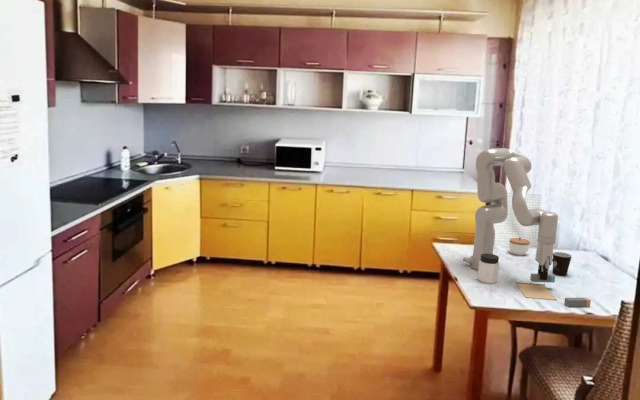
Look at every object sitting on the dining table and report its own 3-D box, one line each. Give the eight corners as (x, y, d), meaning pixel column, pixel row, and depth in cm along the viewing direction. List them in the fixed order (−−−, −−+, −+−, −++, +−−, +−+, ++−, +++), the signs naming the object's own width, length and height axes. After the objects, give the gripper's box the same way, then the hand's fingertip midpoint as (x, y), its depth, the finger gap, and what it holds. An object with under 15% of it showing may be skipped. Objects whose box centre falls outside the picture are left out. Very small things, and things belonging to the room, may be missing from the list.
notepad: (525, 297, 248) (526, 296, 248) (515, 283, 266) (515, 282, 266) (556, 300, 247) (556, 299, 247) (544, 285, 265) (544, 284, 265)
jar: (476, 281, 266) (479, 257, 263) (477, 276, 273) (480, 252, 271) (496, 284, 263) (499, 259, 261) (497, 279, 271) (499, 254, 268)
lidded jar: (504, 250, 320) (506, 234, 318) (522, 251, 321) (524, 235, 320) (513, 256, 310) (515, 239, 308) (531, 257, 311) (533, 240, 309)
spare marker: (568, 307, 239) (569, 300, 239) (564, 304, 242) (565, 297, 242) (589, 306, 241) (590, 300, 241) (585, 304, 244) (586, 297, 243)
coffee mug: (570, 277, 279) (573, 257, 277) (552, 275, 280) (554, 256, 278) (565, 270, 290) (568, 251, 288) (547, 268, 292) (550, 249, 290)
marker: (531, 281, 260) (532, 275, 259) (530, 279, 263) (530, 273, 262) (554, 282, 259) (555, 276, 258) (552, 280, 262) (553, 274, 261)
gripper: (533, 234, 266) (529, 272, 269) (543, 243, 250) (538, 283, 253) (549, 235, 265) (545, 273, 268) (560, 244, 249) (556, 284, 252)
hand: (542, 278), depth 261 cm, fingers closed on marker, 3 cm apart
